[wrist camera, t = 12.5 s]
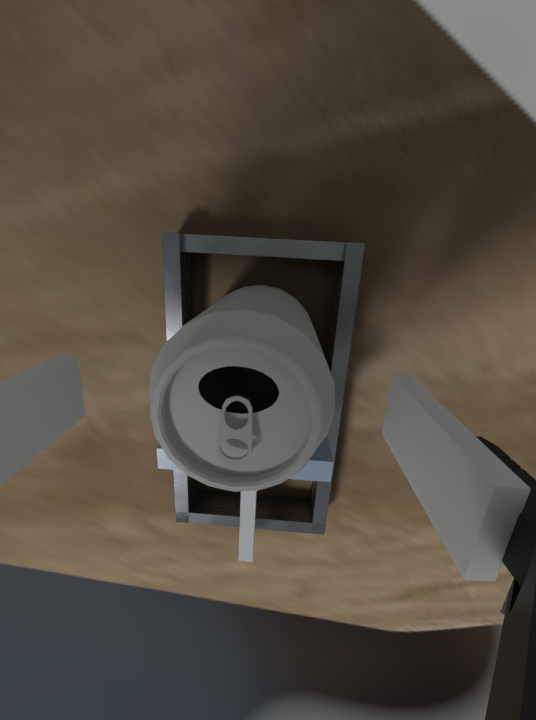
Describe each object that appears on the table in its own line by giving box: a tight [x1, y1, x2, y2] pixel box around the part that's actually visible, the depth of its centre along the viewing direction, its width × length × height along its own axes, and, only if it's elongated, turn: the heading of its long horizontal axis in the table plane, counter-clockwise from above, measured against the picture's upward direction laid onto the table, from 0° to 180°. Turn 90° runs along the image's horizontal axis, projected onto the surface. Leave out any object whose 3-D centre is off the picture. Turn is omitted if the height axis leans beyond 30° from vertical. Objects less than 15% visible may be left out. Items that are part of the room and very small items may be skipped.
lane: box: [162, 232, 365, 534], centre depth 23 cm, size 12×21×2 cm, turn 177°
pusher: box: [157, 435, 333, 562], centre depth 22 cm, size 9×11×8 cm
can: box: [149, 285, 335, 492], centre depth 17 cm, size 8×8×12 cm
